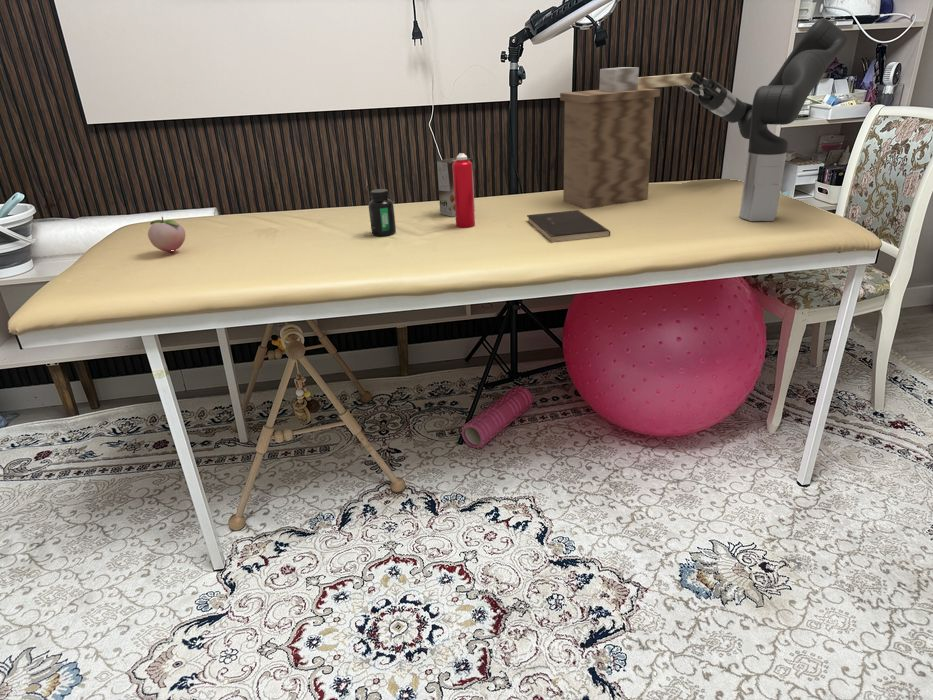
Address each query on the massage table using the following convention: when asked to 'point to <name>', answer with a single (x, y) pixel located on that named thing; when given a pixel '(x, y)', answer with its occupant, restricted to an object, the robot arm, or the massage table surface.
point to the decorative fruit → (166, 235)
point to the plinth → (607, 146)
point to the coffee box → (447, 186)
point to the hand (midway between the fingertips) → (683, 75)
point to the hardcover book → (567, 226)
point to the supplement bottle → (381, 213)
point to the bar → (638, 80)
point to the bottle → (463, 192)
